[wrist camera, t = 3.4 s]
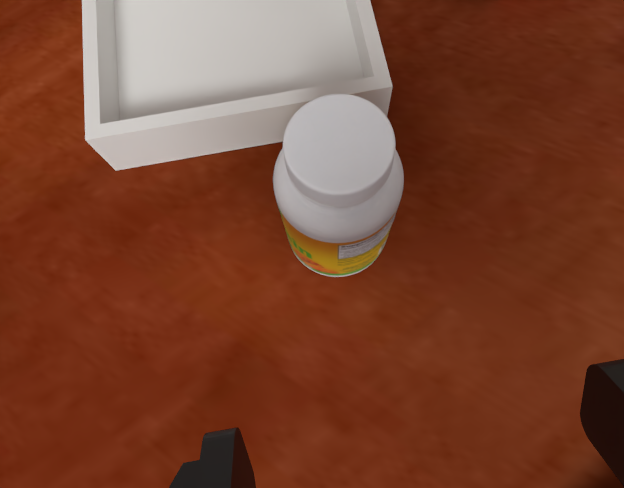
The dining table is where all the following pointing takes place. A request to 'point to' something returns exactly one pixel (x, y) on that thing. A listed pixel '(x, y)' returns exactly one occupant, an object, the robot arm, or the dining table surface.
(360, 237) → the supplement bottle
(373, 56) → the tray
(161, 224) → the dining table surface
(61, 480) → the dining table surface
